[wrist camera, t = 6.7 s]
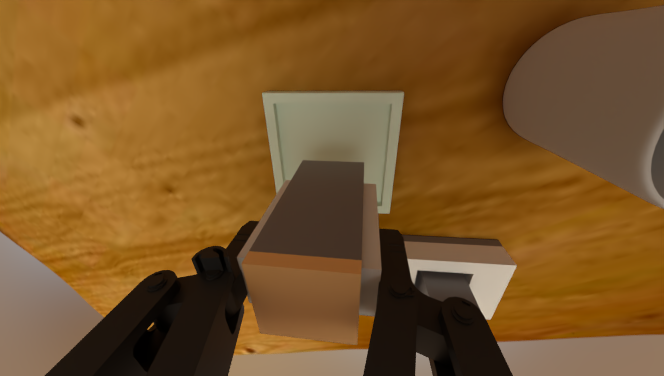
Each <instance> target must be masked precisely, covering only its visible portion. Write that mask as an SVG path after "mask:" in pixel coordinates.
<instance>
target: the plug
mask: <svg viewBox="0 0 664 376" xmlns="http://www.w3.org/2000/svg"><path fill="white" fill-rule="evenodd" d="M363 193H364V162H342V161H314V160H303V161H302V162H301V164H300V166H299V167H298V169H297V171H296V172H295V174H294V176H293V177H292V179H291V181H290V183H289V184H288V186H287V188H286V189H285V191H284V193H283V194H282V196H281V198H280V199H279V201H278V203H277V204H276V206H275V208H274V210H273V211H272V213H271V215H270V216H269V218H268V220H267V221H266V223H265V225H264V226H263V228H262V230H261V231H260V233H259V235H258V237H257V238H256V240H255V242H254V243H253V245H252V247H251V248H250V250H249V252H248V253H247V255H246V257H245V258H244V260H243V262H242V268H243V272H244V275H245V279H246V283H247V286H248V290H249V294H250V297H251V301H252V305H253V308H254V312H255V316H256V319H257V323H258V327H259V330H260V333H262V334H271V335H279V336H287V337H295V338H303V339H311V340H320V341H328V342H336V343H344V344H352V345H357V337H358V321H359V304H360V288H361V269H362V231H363Z"/></svg>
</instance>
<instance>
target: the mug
mask: <svg viewBox="0 0 664 376" xmlns="http://www.w3.org/2000/svg"><path fill="white" fill-rule="evenodd" d="M503 111H504V115H505V118H506V120H507V122H508V124H509V126H510V127H511V128H512V129H513V131H514V132H516V133H517V134H518V135H519V136H521V137H523V138H524V139H526V140H528V141H530V142H532V143H534V144H536V145H538V146H541V147H543V148H545V149H547V150H549V151H551V152H553V153H555V154H557V155H559V156H560V157H562V158H564V159H566V160H568V161H570V162H572V163H574V164H576V165H578V166H580V167H582V168H584V169H586V170H588V171H589V172H591V173H593V174H595V175H597V176H599V177H601V178H603V179H605V180H607V181H609V182H611V183H613V184H615V185H616V186H618V187H620V188H622V189H624V190H626V191H628V192H630V193H632V194H634V195H636V196H638V197H640V198H642V199H644V200H645V201H647V202H649V203H651V204H654V205H656V206H658V207H660V208H663V209H664V5H662V6H656V7H649V8H643V9H636V10H629V11H622V12H613V13H605V14H598V15H593V16H588V17H583V18H579V19H576V20H573V21H570V22H568V23H566V24H564V25H561V26H559V27H557V28H556V29H554V30H552V31H550V32H549V33H547V34H546V35H545V36H543V37H542V38H540V39H539V40H538V41H537V42H536V43H534V44H533V45H532V46H531V47H530V48H529V49H528V50H527V51H526V52H525V53H524V55H523V56H522V57H521V58H520V60H519V61H518V62H517V64H516V65H515V67H514V68H513V70H512V72H511V74H510V76H509V78H508V81H507V83H506V86H505V90H504V95H503Z"/></svg>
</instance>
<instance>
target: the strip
mask: <svg viewBox="0 0 664 376" xmlns="http://www.w3.org/2000/svg"><path fill="white" fill-rule="evenodd" d="M402 236H403V238H404V243H405V249H406V254H407V259H408V264H409V269H410V275H411V279H412V282H413V284H415V279H416V274H417V270H422V271H437V272H452V273H463V274H464V276H465V278H466V280H467V282H468V284H469V287H470V289H471V291H472V293H473V295H474V297H475V299H476V301H477V304H478V306H479V308H480V310H481V312H482V314H483V315H484V317H485V319H491V317H492V315H493V313H494V311H495V309H496V307H497V305H498V303H499V301H500V299H501V297H502V295H503V293H504V291H505V289H506V287H507V285H508V283H509V281H510V279H511V277H512V275H513V273H514V271H515V268H516V266H517V265H516V264H515V262H514V261H513V260H512V258H511V257H510V256H509V254H508V253H507V251H506V250H505V249H504V247H503V246H502V245H501V243H500V242H499V241H498V240H490V239H471V238H452V237H433V236H414V235H402Z"/></svg>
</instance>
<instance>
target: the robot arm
mask: <svg viewBox="0 0 664 376" xmlns="http://www.w3.org/2000/svg"><path fill="white" fill-rule="evenodd" d="M290 181H291V180H285V182H284V184H283V185H282V187H281V188H280V190H279V191H278V193H277V195H276V196H275V198H274V199H273V201H272V202H271V204H270V206H269V207H268V209H267V210H266V212H265V214H264V215H263V217H262V218H261V220H260V221H249V222H248V223H246V224H245V225H244V226H242V227H241V229H240V230H239V232H238V233H237V235H236V236H235V237H234V239H233V241H231V243H230V244H229V246H228V247H227V248H226V249H225V248H223V247H221V246H212V247H207V248H205V249H203V250H201V251H199V252H198V253H196V254H195V255H194V257H193V258H192V262H193V264H194V267H195V269H196V271H197V274H196V275H191V276H186V277H180V278H177V276H176V274H175V273H174V272H173V271H170V270H162V271H159V272H155V273H154V274H152V275H150V276H148V277H147V278H145V279H144V280H143V281H142V282H140V283H139V284H138V285H137V286H136V287H135V288H134V289H133V290H132V291H131V292H130V293H129V294H128V295H127V296H126V297H125V298H124V299H123V300H122V301H121V302H120V303H119V304H118V305H117V306H116V307H115V308H114V309H113V310H112V311H111V312H110V313H109V314H108V315H107V316H106V317H105V318H104V319H103V320H102V321H100V323H98V324H97V326H95V327H94V328H93V329H92V330H91V331H90V332H89V333H88V334H87V335H86V336H85V337H84V338H83V339H82V340H81V341H80V342H79V343H78V344H77V345H76V346H75V347H74V348H73V349H72V350H71V351H70V352H69V353H68V354H67V355H66V356H65V357H64V358H62V359H61V360H60V361H59V362H58V363H57V364H56V365H55V366H54V367H53V368H52V369H51V370H50V371H49V372H48V373H47V374H46V375H45V376H228V373H229V369H230V365H231V361H232V358H233V354H234V350H235V346H236V342H237V338H238V334H239V330H240V326H241V322H242V318H243V314H244V306H243V302H244V300H245V298H246V296H248V299H249V303H252V301H251V297H250V294H249V290H248V286H247V283H246V279H245V275H244V272H243V268H242V262H243V260H244V258H245V257H246V255H247V253H248V252H249V250H250V248H251V247H252V245H253V243H254V242H255V240H256V238H257V237H258V235H259V233H260V231H261V230H262V228H263V226H264V225H265V223H266V221H267V220H268V218H269V216H270V215H271V213H272V211H273V210H274V208H275V206H276V204H277V203H278V201H279V199H280V198H281V196H282V194H283V193H284V191H285V189H286V188H287V186H288V184H289V183H290ZM359 315H367V316H375V318H374V324H373V329H372V334H371V339H370V344H369V349H368V354H367V360H366V364H365V369H364V375H363V376H415V363H416V352H417V353H420V354H422V355H424V356H426V357H428V358H429V361H430V365H431V369H432V374H433V376H513V375H512V373H511V371H510V369H509V367H508V365H507V363H506V361H505V358H504V357H503V355H502V352H501V350H500V348H499V346H498V344H497V342H496V340H495V338H494V336H493V334H492V331H491V329H490V327H489V325H488V323H487V321H486V319H485V317H484V315H483V314H482V312H481V311H480V309H479V308H478V307H477V306H476V305H474V304H473V303H472V302H470V301H468V300H466V299H464V298H460V297H448V298H447V299H445V300H444V301H443V302H442V301H440V300H437V299H434V298H431V297H429V296H427V295H425V294H423V293H422V292H420V291H419V290H418V289H417V288H416V287H415V285H414V284H413V282H412V279H411V275H410V269H409V264H408V259H407V254H406V249H405V243H404V238H403V236H402V235H401V234H400V232H399V231H398V230H391V229H379V222H378V207H377V191H376V184H367V183H364V193H363V231H362V269H361V288H360V304H359ZM153 322H154V325H153V326H152V327H151V328H150V329H149V330H147V329H148V327H149V326H150V325H151V324H152V323H153Z"/></svg>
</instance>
